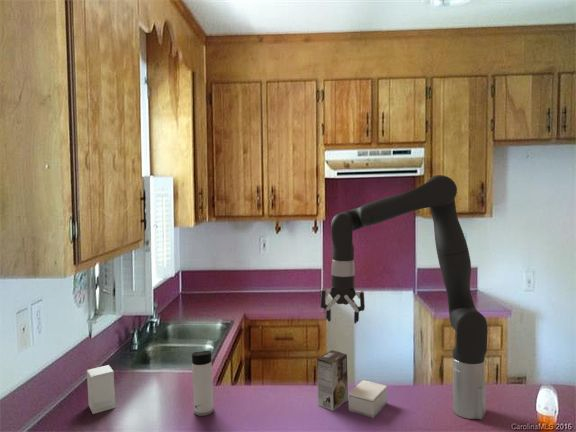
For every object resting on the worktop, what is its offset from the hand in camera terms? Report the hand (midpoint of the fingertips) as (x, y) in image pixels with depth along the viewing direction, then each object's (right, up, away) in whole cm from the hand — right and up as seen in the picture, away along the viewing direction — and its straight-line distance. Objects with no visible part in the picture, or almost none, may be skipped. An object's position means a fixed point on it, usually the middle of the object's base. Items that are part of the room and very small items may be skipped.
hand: (342, 321), depth 146 cm
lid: (+8, -22, -2) cm, 23 cm away
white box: (+8, -27, -2) cm, 29 cm away
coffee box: (-3, -28, +1) cm, 28 cm away
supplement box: (-81, -30, +3) cm, 86 cm away
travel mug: (-45, -29, -2) cm, 54 cm away
